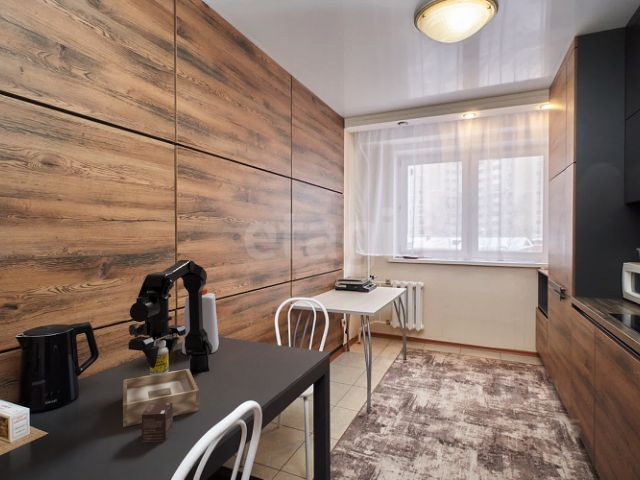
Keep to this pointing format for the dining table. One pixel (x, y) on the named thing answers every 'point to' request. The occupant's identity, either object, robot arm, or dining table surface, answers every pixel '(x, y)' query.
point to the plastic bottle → (204, 319)
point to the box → (157, 422)
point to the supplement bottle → (161, 359)
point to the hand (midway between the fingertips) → (159, 364)
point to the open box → (159, 394)
